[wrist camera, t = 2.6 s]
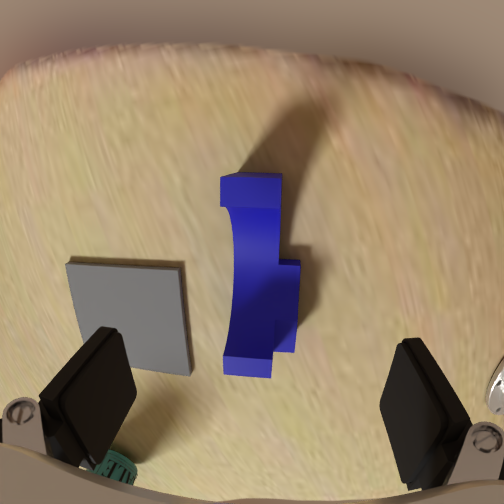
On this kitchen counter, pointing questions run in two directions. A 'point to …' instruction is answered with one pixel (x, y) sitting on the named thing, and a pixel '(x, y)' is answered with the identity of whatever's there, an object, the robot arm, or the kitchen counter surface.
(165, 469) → the kitchen counter surface
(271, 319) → the blue angular piece
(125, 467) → the beverage bottle
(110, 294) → the mat
